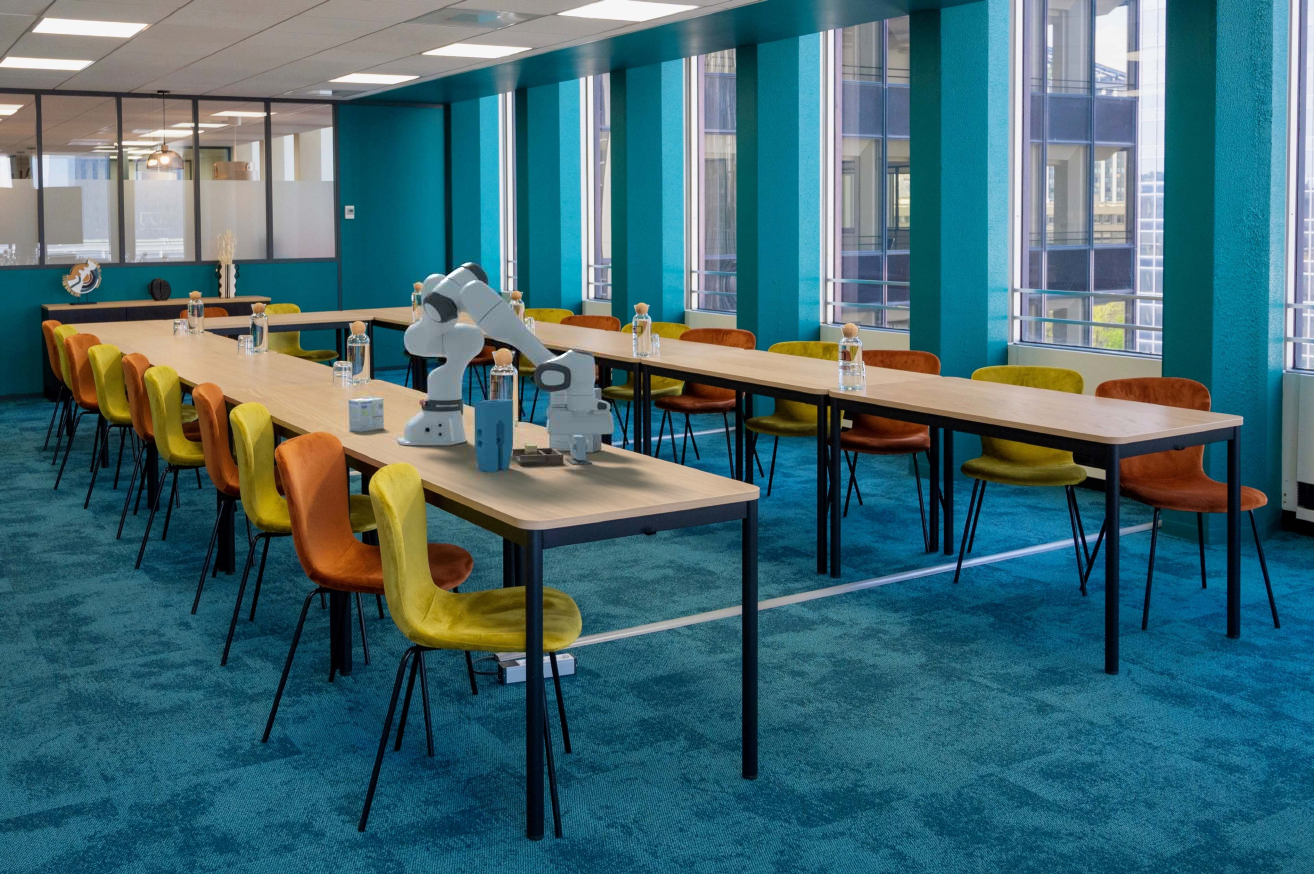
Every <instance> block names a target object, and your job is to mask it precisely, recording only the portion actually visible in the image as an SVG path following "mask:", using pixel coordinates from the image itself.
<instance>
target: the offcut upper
mask: <svg viewBox="0 0 1314 874" xmlns="http://www.w3.org/2000/svg"><path fill="white" fill-rule="evenodd" d="M537 448H538V445H537V444H536V443H524V449H525V450H526V451H527V452H537Z"/></svg>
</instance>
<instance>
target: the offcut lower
mask: <svg viewBox="0 0 1314 874" xmlns="http://www.w3.org/2000/svg"><path fill="white" fill-rule="evenodd" d="M525 455H537V452H527V451H526V450H525Z"/></svg>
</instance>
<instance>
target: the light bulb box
mask: <svg viewBox="0 0 1314 874" xmlns="http://www.w3.org/2000/svg"><path fill="white" fill-rule="evenodd" d="M384 413H385V412H384V398H382V397H373V396H370V397H361V398H356V399H348V424H349V425H348V428H349V431H354V432H360V433H361V432H369V431H376V430H383V429H384V428H385V423H384V422H385V421H384V420H385V418H384V415H385V414H384Z"/></svg>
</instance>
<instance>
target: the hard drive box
mask: <svg viewBox="0 0 1314 874" xmlns="http://www.w3.org/2000/svg"><path fill="white" fill-rule="evenodd" d="M594 390H595V398H596V399H601V400H602V388H600V387H597V388H596V387H594ZM548 395H549V397H548V399H549V401H548V403H549V404H548V405H549V406H551V405H552V404H556V405H558V404H566V391H565V390H561V391H556V392H551V393H550V392H548ZM549 406H548V407H549ZM550 408H551V407H550ZM581 436H583V437H585V438H586V442H587V440H588V437H587V435H581ZM602 447H603V446H602V434H593V439H592V441H591V443H590V444H589V449H586V453H590V454H591V453H595V452H597V451H600V450H603V449H602ZM549 448H555V449H556V450H557V451H559V452H560V451H561V452H570V442H569V441H568V439H567V435H549Z"/></svg>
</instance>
